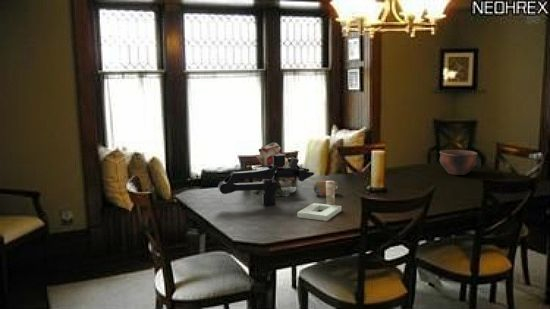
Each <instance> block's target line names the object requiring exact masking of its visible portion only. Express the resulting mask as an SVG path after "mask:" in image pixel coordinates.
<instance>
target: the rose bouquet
mask: <svg viewBox="0 0 550 309" xmlns="http://www.w3.org/2000/svg"><path fill="white" fill-rule="evenodd" d="M281 149H282V148H281V147H280V145H279V144H278V143H277V142H270V143H269V144H266V145H265V147H264V146H261V148H259V149H258V152H259V154H256V155H254V157H255V158H256V160H257V161H258V163H259V164H260V165H256V166H253V167H252V169H255V168H260V169H261V168H265V167H268V166H270V165H271V164H273V155H276V154H282V152H281ZM287 160H288V158H287V157H285V165H284V166H283V167H277V168H286V166H289V162H288V161H287ZM273 177H274V176H273ZM271 180H273V181H274V182H276V181H275V180H274V179H271ZM280 180H281V181H282V182H283V183H285V184H287V185H288V184H290V183H289V182H293V181H294V180H296V178H289V179H287V178H277V182H276V183H277V185H278V188H277V190H276V191H275V194H274V196H275V197H288V196H291V194H292V193H293V194H294V193H295V192H296V190H297V186H294V187H293V186H289V187H282V185H281V184H280ZM258 182H259V181H255V183H258ZM249 191H250V192H249V195H252V196H254V195H253V194H259V195H258V196H261V197H262V193H263V192H262V190H249Z"/></svg>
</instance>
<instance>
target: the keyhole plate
mask: <svg viewBox="0 0 550 309" xmlns="http://www.w3.org/2000/svg"><path fill="white" fill-rule="evenodd" d="M340 212H342V205H336V204H335V205H327V204H326V203H318V202H317V203H315V202H313V203H311V204H309V205H308V206H306V207H304V208H302V209H301V210H299V211H298V212H297V213H296V215H297V216H296V217H297V218H301V219H309V220H310V219H311V220H318V221H324V222H325V221H326V222H327V221H329V220H330V219H332V218H333V217H335V216H336V215H337V214H339V213H340Z"/></svg>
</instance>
